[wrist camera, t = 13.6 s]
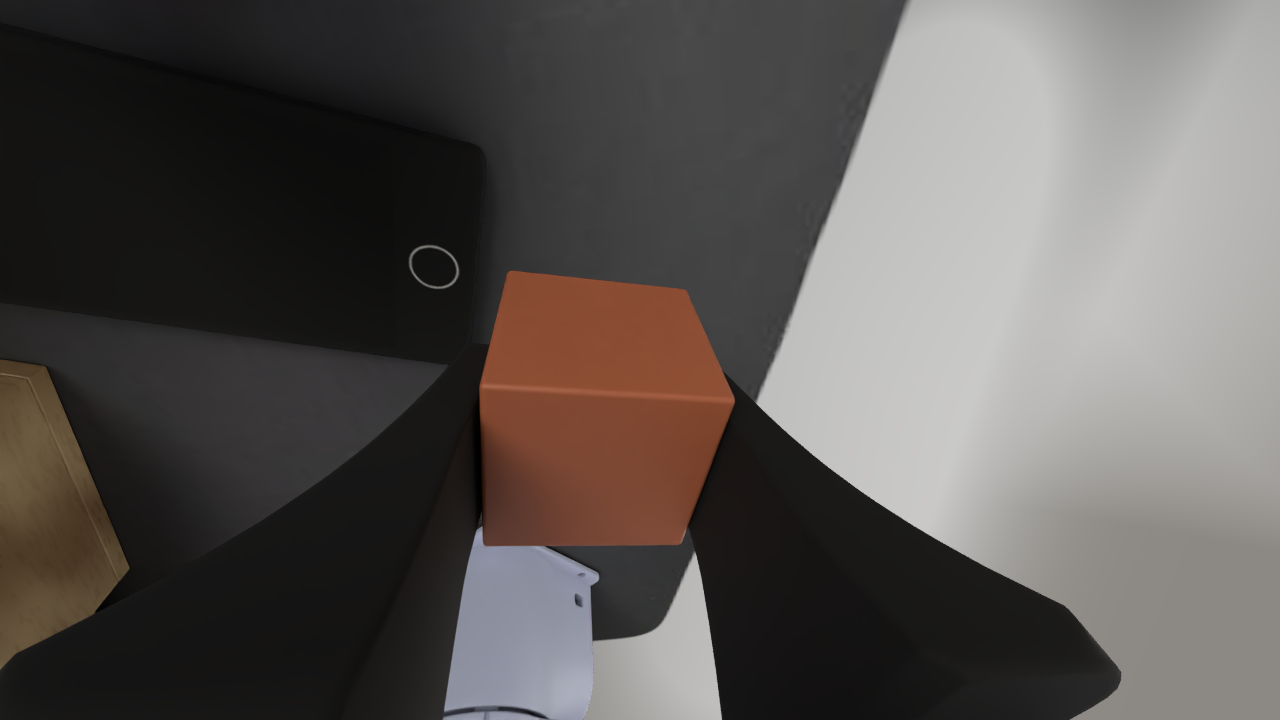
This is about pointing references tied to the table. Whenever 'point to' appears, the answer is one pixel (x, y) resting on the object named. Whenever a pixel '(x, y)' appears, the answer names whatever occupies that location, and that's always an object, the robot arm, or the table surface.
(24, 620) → the cabinet
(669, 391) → the block
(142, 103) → the cell phone
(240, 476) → the table surface
